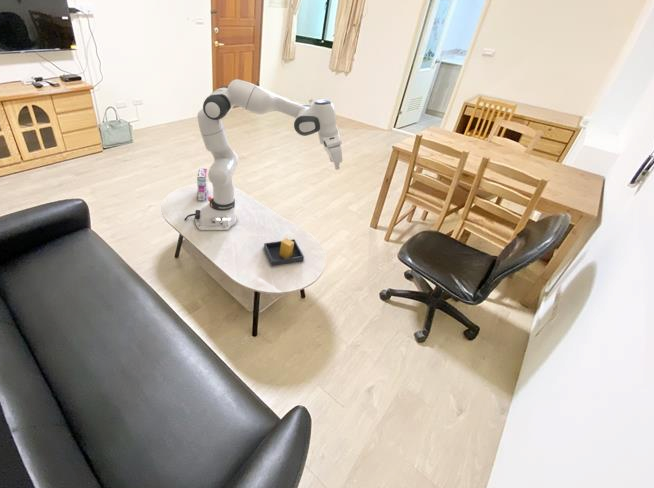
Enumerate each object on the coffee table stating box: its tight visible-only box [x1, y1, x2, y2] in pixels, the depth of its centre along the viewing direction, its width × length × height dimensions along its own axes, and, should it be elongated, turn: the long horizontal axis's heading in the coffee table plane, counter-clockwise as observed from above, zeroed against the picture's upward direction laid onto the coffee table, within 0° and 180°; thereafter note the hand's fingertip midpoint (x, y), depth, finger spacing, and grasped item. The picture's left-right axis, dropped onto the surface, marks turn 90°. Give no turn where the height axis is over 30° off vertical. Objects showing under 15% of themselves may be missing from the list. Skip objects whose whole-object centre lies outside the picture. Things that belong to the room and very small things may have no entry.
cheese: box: [280, 237, 294, 259], centre depth 164 cm, size 5×4×9 cm
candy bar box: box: [196, 168, 208, 202], centre depth 199 cm, size 11×5×16 cm, turn 5°
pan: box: [263, 238, 305, 267], centre depth 166 cm, size 16×13×4 cm
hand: (334, 165), depth 152 cm, fingers open, 8 cm apart
